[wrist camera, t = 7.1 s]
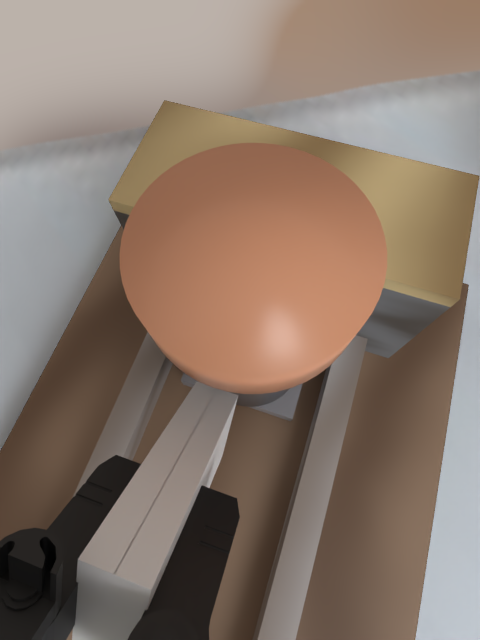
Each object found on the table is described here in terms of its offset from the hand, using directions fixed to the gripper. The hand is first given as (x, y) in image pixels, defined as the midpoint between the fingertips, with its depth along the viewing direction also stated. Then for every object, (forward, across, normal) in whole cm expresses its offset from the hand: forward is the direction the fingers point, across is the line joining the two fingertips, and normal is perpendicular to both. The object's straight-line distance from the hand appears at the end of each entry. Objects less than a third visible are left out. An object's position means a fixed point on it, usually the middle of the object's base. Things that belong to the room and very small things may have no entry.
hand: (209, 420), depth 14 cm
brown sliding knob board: (+4, 0, -3) cm, 5 cm away
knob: (+5, 0, 0) cm, 5 cm away
